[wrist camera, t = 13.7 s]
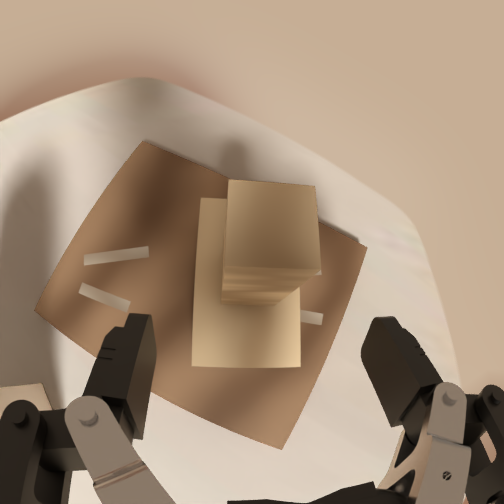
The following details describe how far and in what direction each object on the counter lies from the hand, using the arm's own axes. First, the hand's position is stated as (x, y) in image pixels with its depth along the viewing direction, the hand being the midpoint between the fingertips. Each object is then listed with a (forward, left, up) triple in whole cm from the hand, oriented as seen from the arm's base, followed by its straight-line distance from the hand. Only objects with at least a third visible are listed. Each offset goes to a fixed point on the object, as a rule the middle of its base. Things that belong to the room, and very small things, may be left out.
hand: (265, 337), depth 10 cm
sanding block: (-2, +3, -9) cm, 10 cm away
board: (-4, +2, -10) cm, 11 cm away
